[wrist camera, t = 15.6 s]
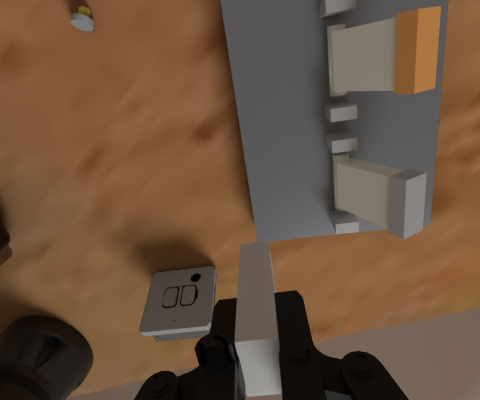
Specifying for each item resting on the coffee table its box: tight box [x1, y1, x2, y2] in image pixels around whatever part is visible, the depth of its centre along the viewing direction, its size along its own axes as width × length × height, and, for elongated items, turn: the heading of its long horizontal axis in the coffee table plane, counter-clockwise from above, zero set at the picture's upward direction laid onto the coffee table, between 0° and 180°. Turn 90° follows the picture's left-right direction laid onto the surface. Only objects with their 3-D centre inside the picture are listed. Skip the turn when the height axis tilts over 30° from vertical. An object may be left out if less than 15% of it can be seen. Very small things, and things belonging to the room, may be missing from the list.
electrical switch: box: [139, 266, 217, 341], centre depth 44 cm, size 9×5×9 cm, turn 101°
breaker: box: [333, 153, 427, 239], centre depth 31 cm, size 2×6×10 cm
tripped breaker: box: [327, 6, 441, 97], centre depth 27 cm, size 2×6×10 cm
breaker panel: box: [220, 0, 448, 242], centre depth 34 cm, size 20×26×7 cm
